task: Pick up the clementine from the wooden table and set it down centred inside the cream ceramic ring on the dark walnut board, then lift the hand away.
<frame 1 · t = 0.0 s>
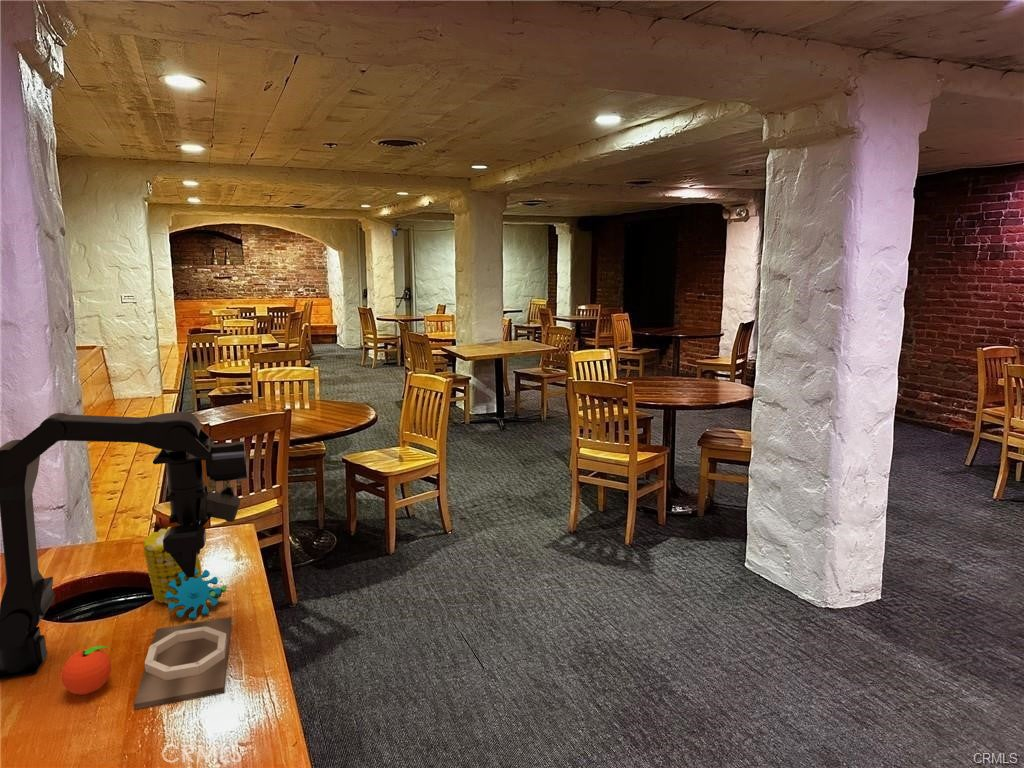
hand: (193, 565, 121), 15 cm above the table, tool pointing down, fingers open, 9 cm apart
seat ring: (187, 651, 117), on the board, point 1 cm above the table
blue knobbed toy: (198, 610, 133), on the table, touching food
board: (188, 661, 117), on the table
clementine: (92, 689, 110), on the table
food: (177, 597, 138), on the table, touching blue knobbed toy
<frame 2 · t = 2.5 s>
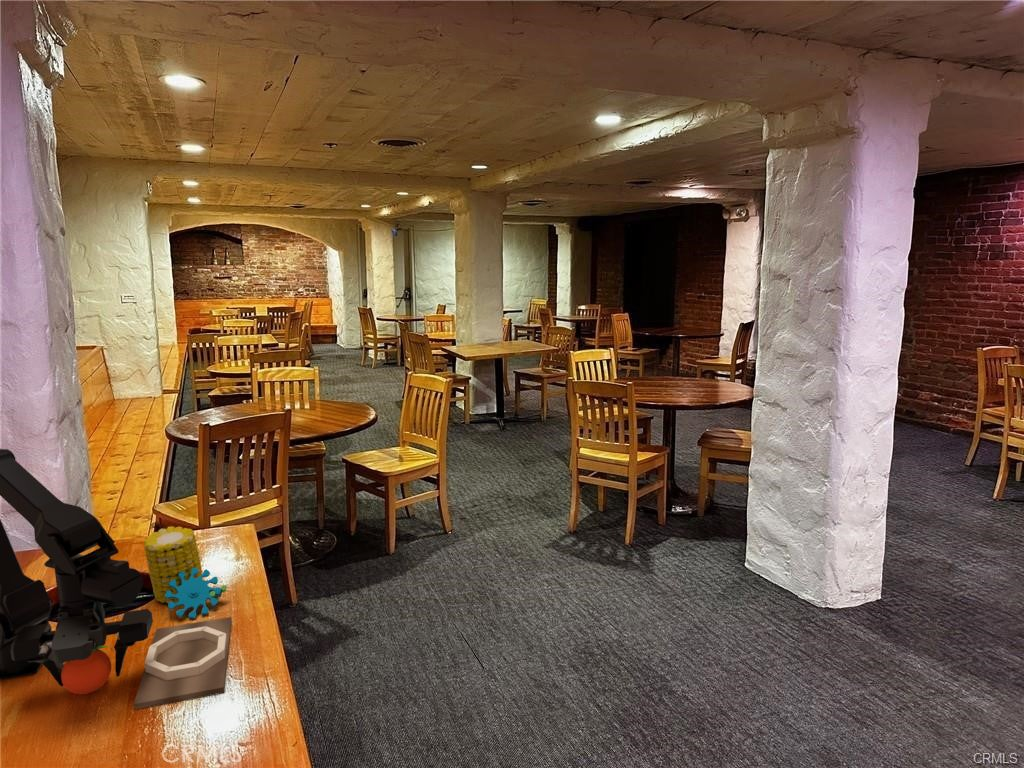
hand: (91, 679, 109), 2 cm above the table, tool pointing down, fingers open, 8 cm apart
clementine: (92, 689, 110), on the table, touching gripper
everything else where it was.
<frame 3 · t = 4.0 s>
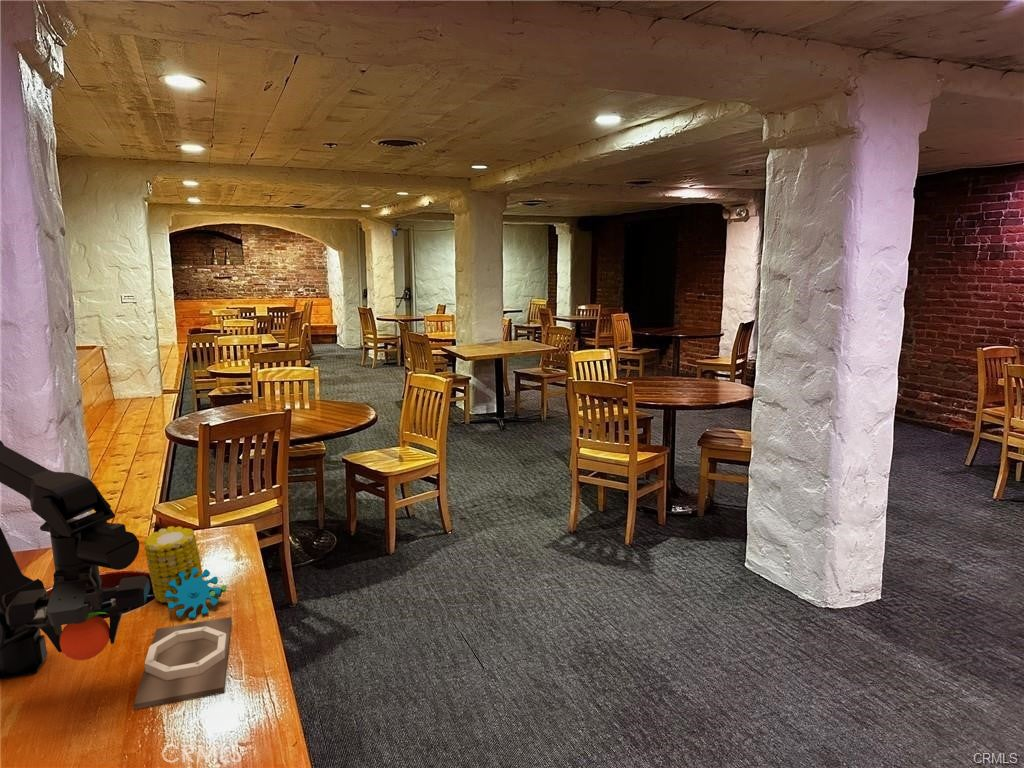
hand: (87, 646, 108), 8 cm above the table, tool pointing down, fingers closed on clementine, 7 cm apart
clementine: (91, 655, 109), point 6 cm above the table, touching gripper
everything else where it was.
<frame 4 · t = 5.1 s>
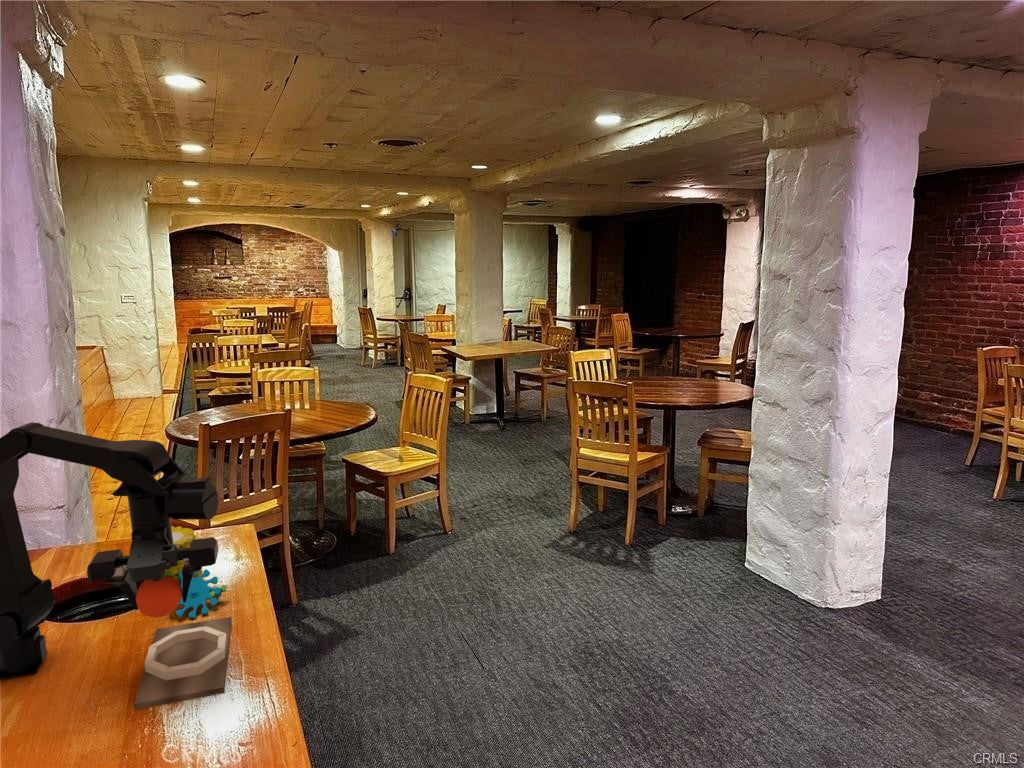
hand: (161, 605, 113), 12 cm above the table, tool pointing down, fingers closed on clementine, 7 cm apart
clementine: (164, 613, 113), point 10 cm above the table, touching gripper
everything else where it was.
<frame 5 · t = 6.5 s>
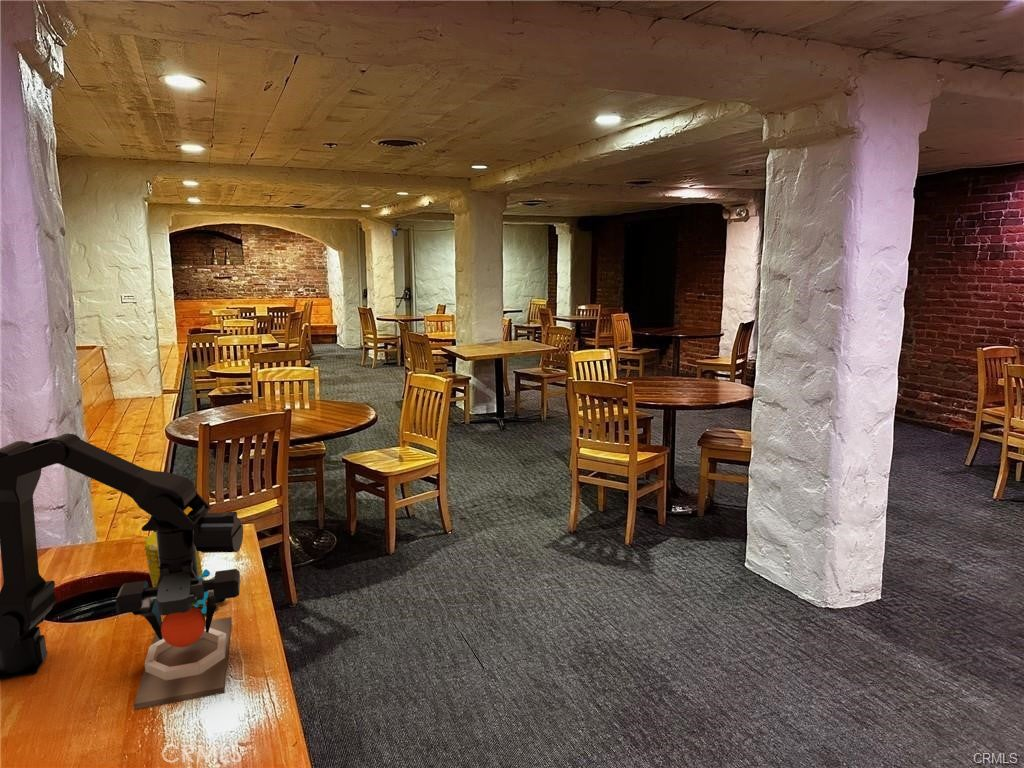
hand: (184, 634, 116), 5 cm above the table, tool pointing down, fingers closed on clementine, 7 cm apart
clementine: (188, 643, 116), point 3 cm above the table, touching gripper
everything else where it was.
when the fingers open (4 cm above the table, at t = 7.7 s): clementine drops 1 cm, resting on board.
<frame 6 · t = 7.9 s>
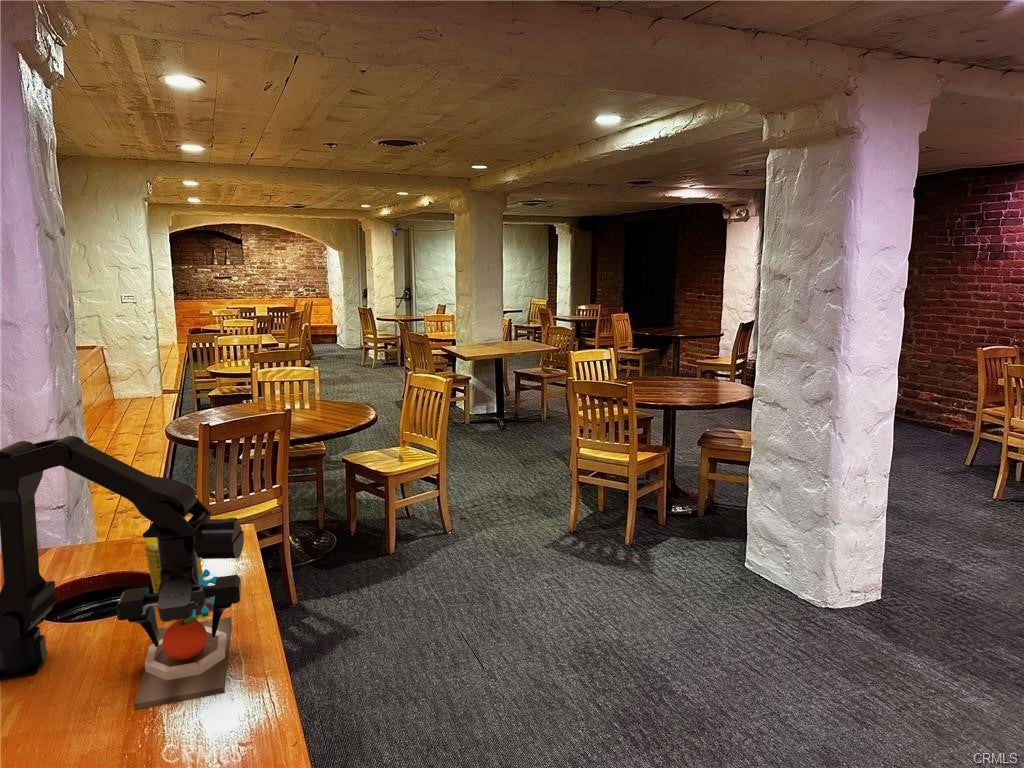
hand: (185, 640, 116), 4 cm above the table, tool pointing down, fingers open, 9 cm apart
clementine: (189, 656, 117), point 1 cm above the table, touching board
everything else where it was.
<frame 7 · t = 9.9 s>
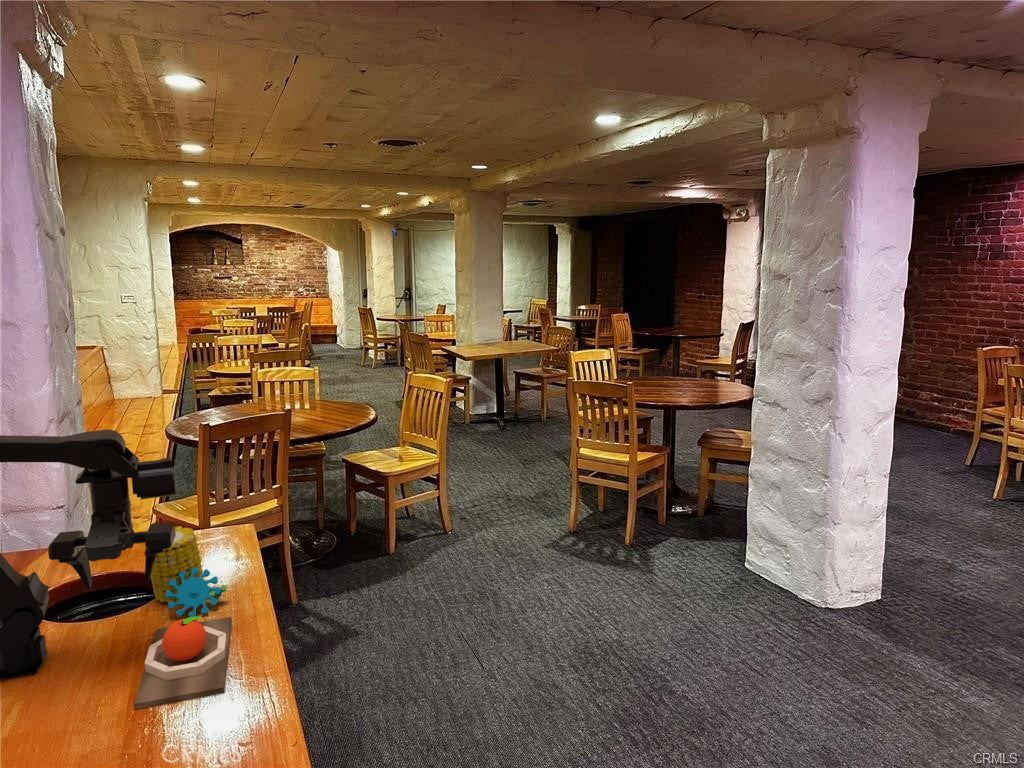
hand: (118, 584, 119), 12 cm above the table, tool pointing down, fingers open, 9 cm apart
nothing on the table moved.
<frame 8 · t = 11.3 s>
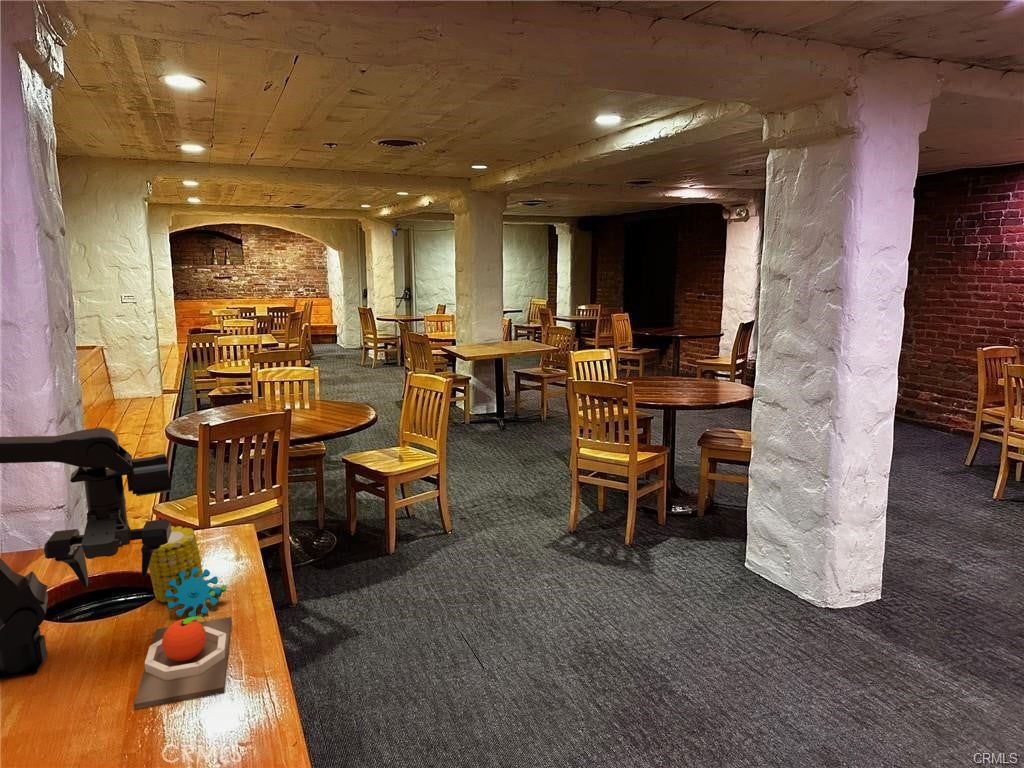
hand: (115, 582, 120), 12 cm above the table, tool pointing down, fingers open, 9 cm apart
nothing on the table moved.
at the end: clementine 0.2 cm off-centre on the seat ring, point 0.8 cm above the seat ring's base; clementine touching board; the gripper is holding nothing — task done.
